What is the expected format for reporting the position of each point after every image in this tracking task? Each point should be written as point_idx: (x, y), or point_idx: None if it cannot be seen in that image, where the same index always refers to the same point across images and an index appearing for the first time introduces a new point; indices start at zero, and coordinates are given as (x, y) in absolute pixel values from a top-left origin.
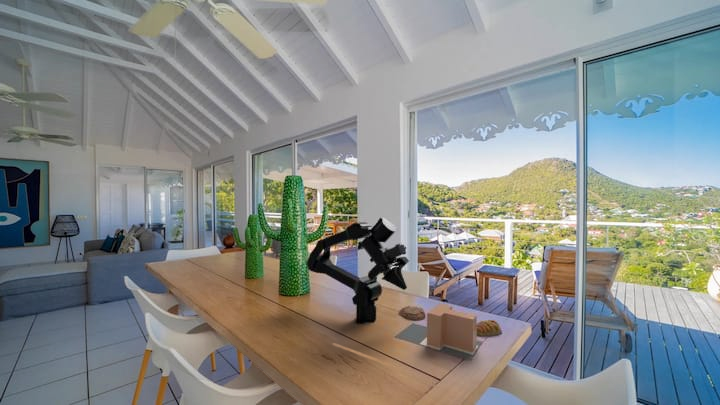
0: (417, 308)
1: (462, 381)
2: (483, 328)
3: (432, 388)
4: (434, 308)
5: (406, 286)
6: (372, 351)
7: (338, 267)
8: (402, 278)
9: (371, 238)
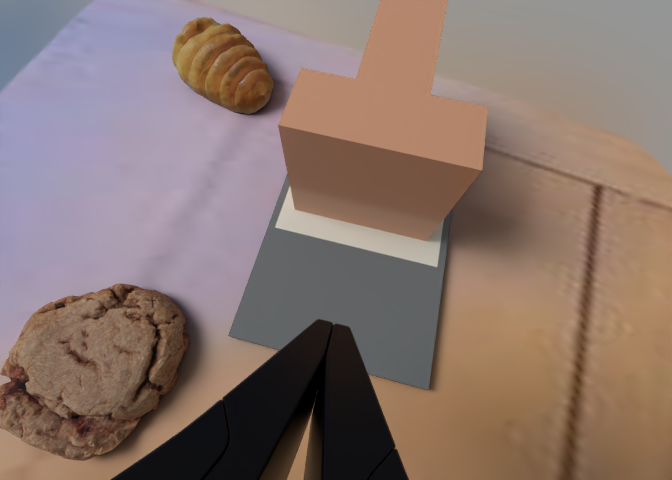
0: (51, 335)
1: (566, 138)
2: (254, 61)
3: (651, 199)
4: (383, 142)
5: (317, 323)
6: (592, 455)
7: None
8: (266, 405)
9: None
